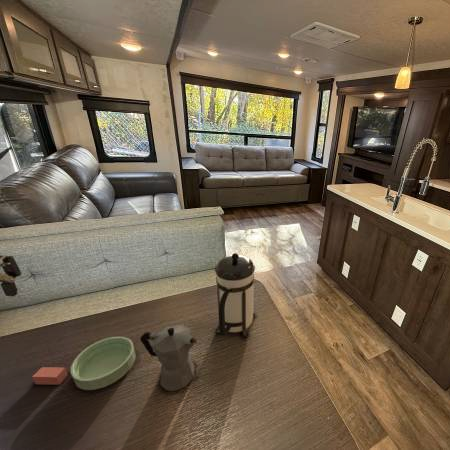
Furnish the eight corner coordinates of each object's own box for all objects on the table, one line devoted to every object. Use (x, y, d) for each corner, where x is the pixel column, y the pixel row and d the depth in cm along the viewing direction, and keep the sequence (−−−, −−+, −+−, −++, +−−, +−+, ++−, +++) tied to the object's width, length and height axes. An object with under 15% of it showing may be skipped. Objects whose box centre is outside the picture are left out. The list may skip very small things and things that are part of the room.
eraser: (35, 384, 66) (31, 376, 65) (45, 374, 69) (41, 367, 68) (59, 384, 67) (56, 377, 65) (68, 374, 69) (64, 367, 68)
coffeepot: (207, 364, 76) (203, 319, 69) (192, 395, 67) (186, 347, 60) (158, 358, 76) (149, 312, 69) (137, 388, 67) (125, 339, 60)
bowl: (60, 391, 65) (55, 380, 63) (99, 346, 78) (95, 335, 76) (116, 392, 66) (113, 381, 64) (145, 347, 79) (143, 337, 77)
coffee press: (207, 319, 92) (201, 248, 81) (247, 305, 101) (247, 239, 89) (221, 354, 79) (217, 276, 68) (266, 335, 88) (269, 263, 76)
